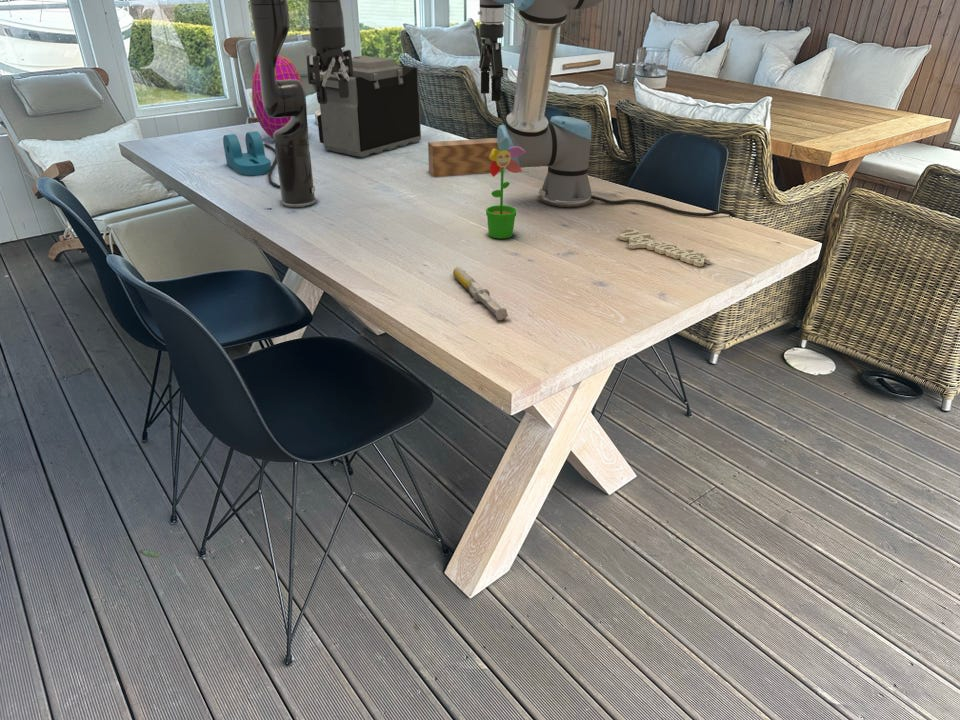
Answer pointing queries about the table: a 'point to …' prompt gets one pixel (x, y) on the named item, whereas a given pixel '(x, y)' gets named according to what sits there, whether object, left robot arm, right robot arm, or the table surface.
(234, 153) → the camera mount
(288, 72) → the decorative egg
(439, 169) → the box
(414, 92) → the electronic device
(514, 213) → the potted flower
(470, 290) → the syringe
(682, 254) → the decorative sign
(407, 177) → the table surface
